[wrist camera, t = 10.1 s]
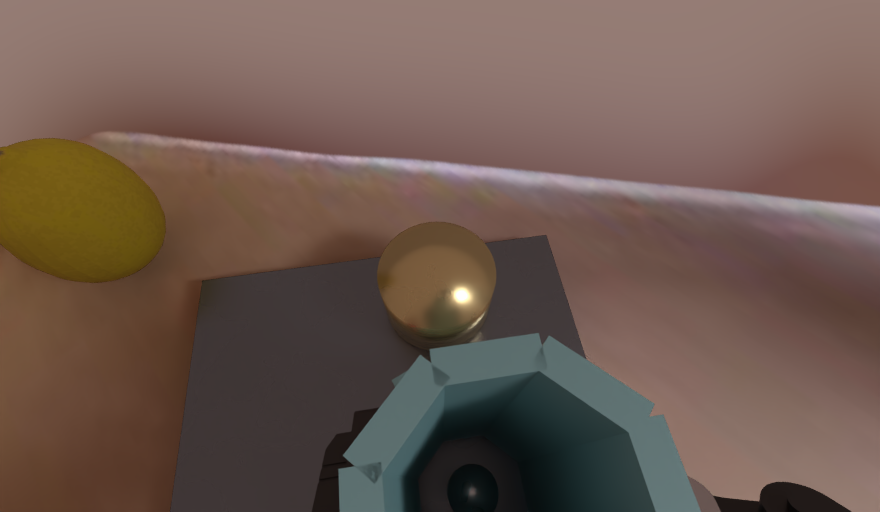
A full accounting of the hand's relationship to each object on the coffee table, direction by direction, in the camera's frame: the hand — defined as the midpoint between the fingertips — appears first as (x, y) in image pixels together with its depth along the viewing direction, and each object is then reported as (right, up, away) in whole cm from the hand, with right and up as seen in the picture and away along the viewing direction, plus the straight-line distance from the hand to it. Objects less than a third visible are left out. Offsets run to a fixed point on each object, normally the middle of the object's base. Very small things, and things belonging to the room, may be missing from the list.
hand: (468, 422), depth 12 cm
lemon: (-17, +4, +10) cm, 20 cm away
